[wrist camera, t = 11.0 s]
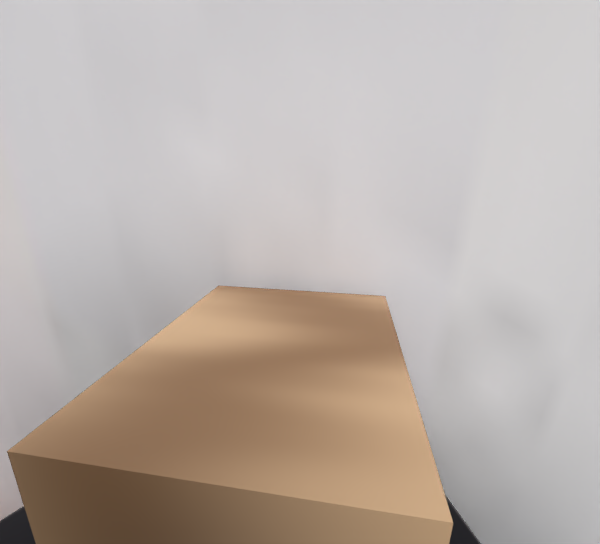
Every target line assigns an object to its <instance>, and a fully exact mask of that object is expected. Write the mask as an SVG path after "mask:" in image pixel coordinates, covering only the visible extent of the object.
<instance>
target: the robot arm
mask: <svg viewBox="0 0 600 544" xmlns="http://www.w3.org/2000/svg"><path fill="white" fill-rule="evenodd" d="M445 497H446V495H445ZM446 500H447V504H448V507H449V510H450V514H451V517H452V520H453V527H452V532H451V537H450V542H449V544H481V543H480V542H479V541H478V539H477V538H476V536H475V535H474V534H473V532H472V531H471V530H470V528H469V527H468V525H467V524H466V523H465V521H464V520H463V519H462V517H461V516H460V515H459V513H458V512H457V510H456V509H455V508H454V506H453V505H452V504H451V502H450V501H449V499H448V498H447V497H446ZM0 544H36V543H35V539H34V536H33V533H32V530H31V527H30V523H29V520H28V517H27V514H26V511H25V507H24V506H23V507H22V508H20V509H19V510H17V511H15V512H14V513H12V514H10V515H9V516H7V517H6V518H4V519H2V520H1V521H0Z"/></svg>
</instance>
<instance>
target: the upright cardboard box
mask: <svg viewBox="0 0 600 544" xmlns="http://www.w3.org/2000/svg"><path fill="white" fill-rule="evenodd" d="M7 453H8V456H9V459H10V462H11V466H12V469H13V472H14V475H15V478H16V482H17V485H18V488H19V491H20V494H21V498H22V501H23V504H24V507H25V511H26V514H27V517H28V520H29V523H30V527H31V530H32V533H33V536H34V539H35V543H36V544H449V542H450V537H451V532H452V527H453V520H452V517H451V514H450V510H449V507H448V504H447V500H446V497H445V494H444V490H443V487H442V484H441V480H440V477H439V474H438V470H437V467H436V464H435V460H434V457H433V454H432V450H431V447H430V444H429V440H428V437H427V434H426V431H425V427H424V424H423V421H422V417H421V414H420V411H419V407H418V404H417V401H416V397H415V394H414V391H413V387H412V384H411V381H410V377H409V374H408V371H407V367H406V364H405V361H404V357H403V354H402V351H401V347H400V344H399V341H398V337H397V334H396V331H395V327H394V324H393V321H392V317H391V314H390V311H389V307H388V304H387V301H386V297H385V296H374V295H358V294H342V293H326V292H311V291H295V290H279V289H263V288H247V287H231V286H218V287H216V288H215V289H214V290H212V291H211V292H210V293H209V294H207V295H206V296H205V297H204V298H202V299H201V300H200V301H198V302H197V303H196V304H195V305H193V306H192V307H191V308H189V309H188V310H187V311H186V312H184V313H183V314H182V315H181V316H179V317H178V318H177V319H175V320H174V321H173V322H172V323H170V324H169V325H168V326H167V327H165V328H164V329H163V330H161V331H160V332H159V333H158V334H156V335H155V336H154V337H152V338H151V339H150V340H149V341H147V342H146V343H145V344H144V345H142V346H141V347H140V348H138V349H137V350H136V351H135V352H133V353H132V354H131V355H129V356H128V357H127V358H126V359H124V360H123V361H122V362H121V363H119V364H118V365H117V366H115V367H114V368H113V369H112V370H110V371H109V372H108V373H106V374H105V375H104V376H103V377H101V378H100V379H99V380H98V381H96V382H95V383H94V384H92V385H91V386H90V387H89V388H87V389H86V390H85V391H84V392H82V393H81V394H80V395H78V396H77V397H76V398H75V399H73V400H72V401H71V402H69V403H68V404H67V405H66V406H64V407H63V408H62V409H61V410H59V411H58V412H57V413H55V414H54V415H53V416H52V417H50V418H49V419H48V420H46V421H45V422H44V423H43V424H41V425H40V426H39V427H38V428H36V429H35V430H34V431H32V432H31V433H30V434H29V435H27V436H26V437H25V438H24V439H22V440H21V441H20V442H18V443H17V444H16V445H15V446H13V447H12V448H11V449H9V450H8V451H7Z"/></svg>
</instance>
